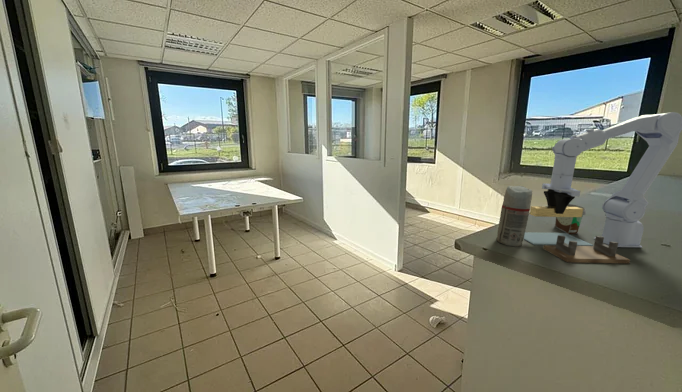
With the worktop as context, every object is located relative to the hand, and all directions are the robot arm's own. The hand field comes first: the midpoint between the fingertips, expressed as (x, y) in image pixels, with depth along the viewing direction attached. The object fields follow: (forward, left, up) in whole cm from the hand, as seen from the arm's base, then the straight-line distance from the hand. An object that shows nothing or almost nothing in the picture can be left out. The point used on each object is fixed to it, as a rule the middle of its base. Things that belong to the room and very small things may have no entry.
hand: (555, 212), depth 95 cm
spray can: (+17, +4, -10) cm, 20 cm away
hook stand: (0, +14, -10) cm, 17 cm away
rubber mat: (0, 0, -10) cm, 10 cm away
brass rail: (0, 0, 0) cm, 0 cm away
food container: (-15, -10, -10) cm, 21 cm away
